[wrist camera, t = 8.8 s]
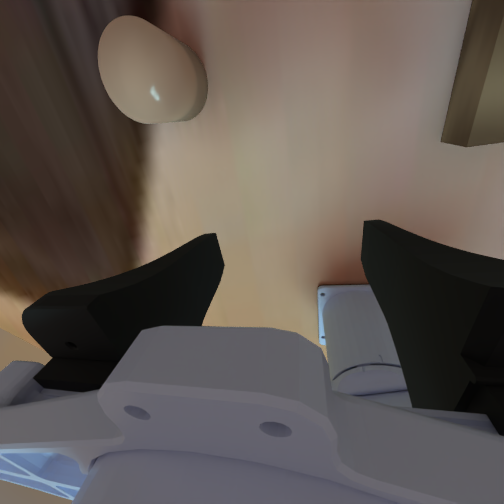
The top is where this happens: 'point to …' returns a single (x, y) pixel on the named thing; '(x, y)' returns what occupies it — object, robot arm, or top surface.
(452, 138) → the walnut base
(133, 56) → the tan round piece
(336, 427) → the robot arm
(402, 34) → the top surface
